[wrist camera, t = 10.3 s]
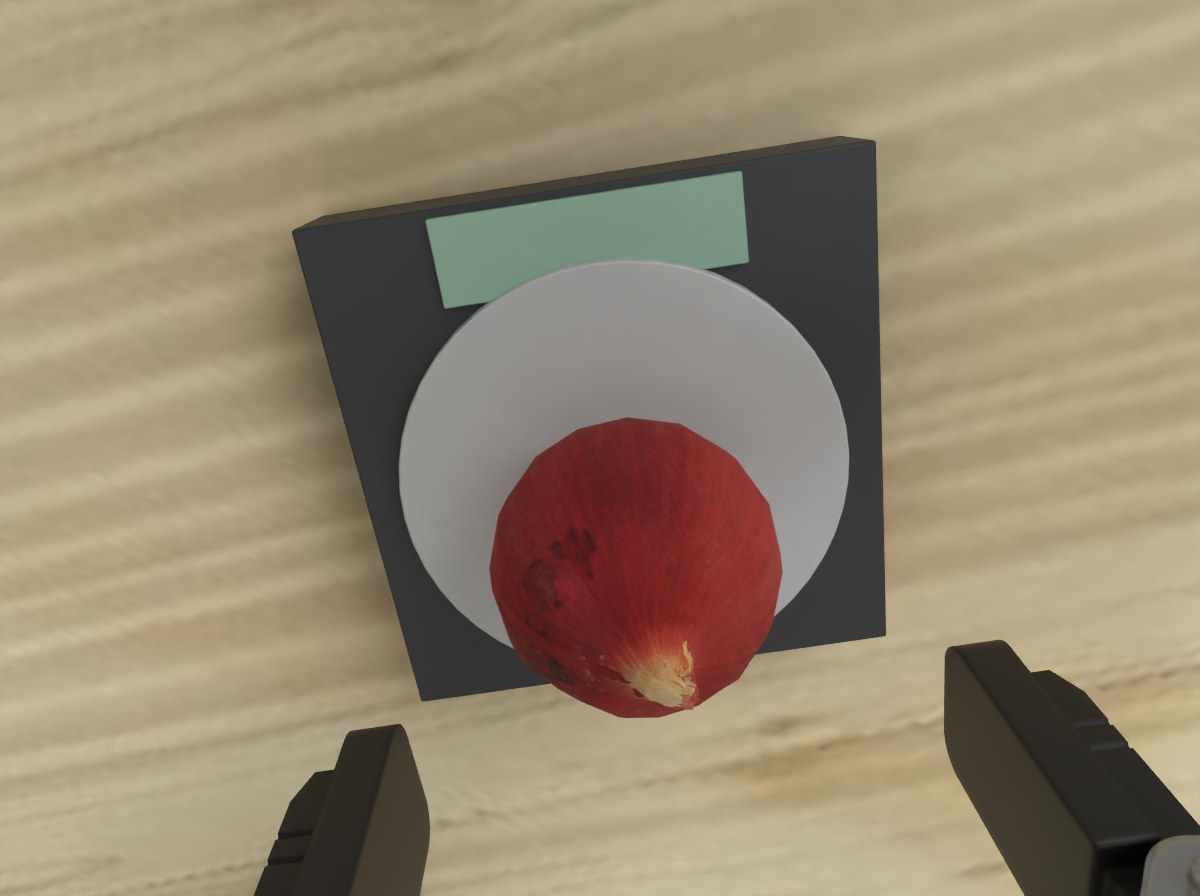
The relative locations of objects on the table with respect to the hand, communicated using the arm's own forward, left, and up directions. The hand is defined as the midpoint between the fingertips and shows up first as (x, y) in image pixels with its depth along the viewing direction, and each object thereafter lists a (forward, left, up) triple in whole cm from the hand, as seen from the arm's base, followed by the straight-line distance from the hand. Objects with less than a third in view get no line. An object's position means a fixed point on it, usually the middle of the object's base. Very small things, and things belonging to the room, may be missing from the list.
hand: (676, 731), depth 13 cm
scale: (0, 0, -12) cm, 12 cm away
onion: (0, 0, -9) cm, 9 cm away
